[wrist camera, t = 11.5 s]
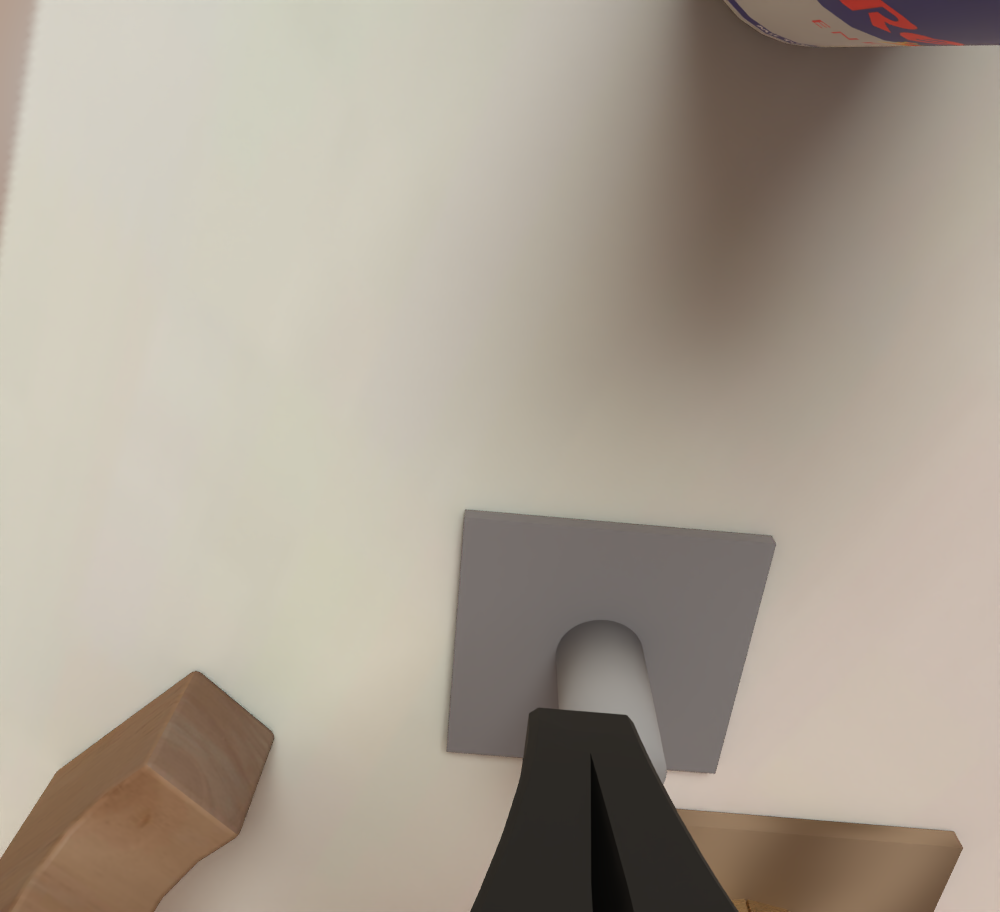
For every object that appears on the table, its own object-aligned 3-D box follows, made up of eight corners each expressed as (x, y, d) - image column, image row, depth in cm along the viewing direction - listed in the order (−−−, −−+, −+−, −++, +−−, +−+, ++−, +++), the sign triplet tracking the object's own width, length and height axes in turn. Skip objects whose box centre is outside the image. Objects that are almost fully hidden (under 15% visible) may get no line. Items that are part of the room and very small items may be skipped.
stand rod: (771, 535, 22) (829, 648, 18) (712, 763, 25) (749, 902, 21) (465, 509, 22) (451, 617, 18) (447, 741, 25) (432, 877, 21)
